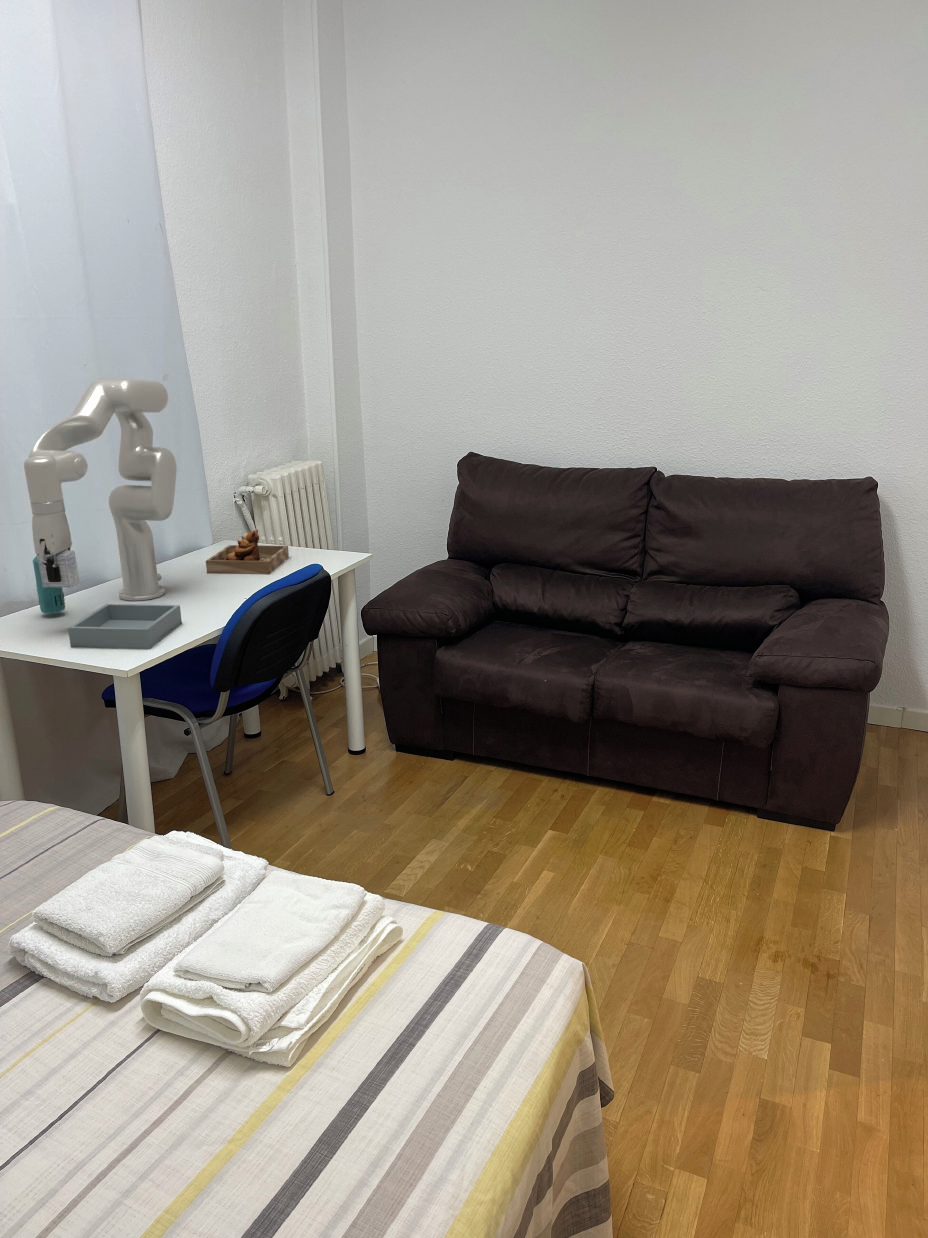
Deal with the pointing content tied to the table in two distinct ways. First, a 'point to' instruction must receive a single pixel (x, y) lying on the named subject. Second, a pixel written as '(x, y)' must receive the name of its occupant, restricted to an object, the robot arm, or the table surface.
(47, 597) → the beverage bottle
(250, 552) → the bear figurine
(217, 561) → the wooden tray
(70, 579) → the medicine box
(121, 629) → the bin
